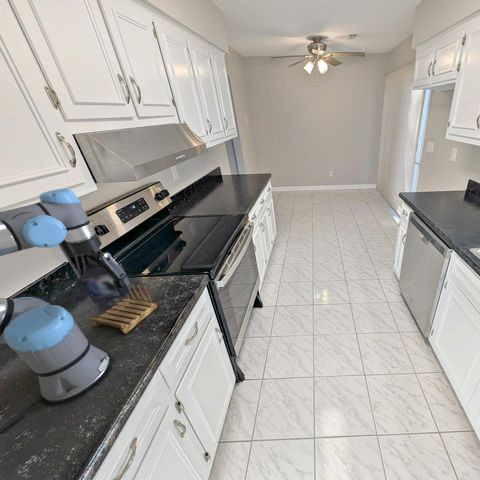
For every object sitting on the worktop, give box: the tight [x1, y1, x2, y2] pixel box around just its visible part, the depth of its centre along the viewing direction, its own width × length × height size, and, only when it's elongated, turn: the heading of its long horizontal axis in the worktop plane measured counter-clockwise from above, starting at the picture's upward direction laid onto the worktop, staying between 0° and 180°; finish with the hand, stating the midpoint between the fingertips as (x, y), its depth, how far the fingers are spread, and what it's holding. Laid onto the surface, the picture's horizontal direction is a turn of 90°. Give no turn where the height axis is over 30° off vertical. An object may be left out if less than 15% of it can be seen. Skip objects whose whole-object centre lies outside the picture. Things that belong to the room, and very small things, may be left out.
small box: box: [78, 263, 133, 303], centre depth 89 cm, size 11×6×10 cm, turn 105°
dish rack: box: [89, 283, 158, 335], centre depth 94 cm, size 14×15×11 cm
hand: (112, 291), depth 91 cm, fingers closed on small box, 12 cm apart
